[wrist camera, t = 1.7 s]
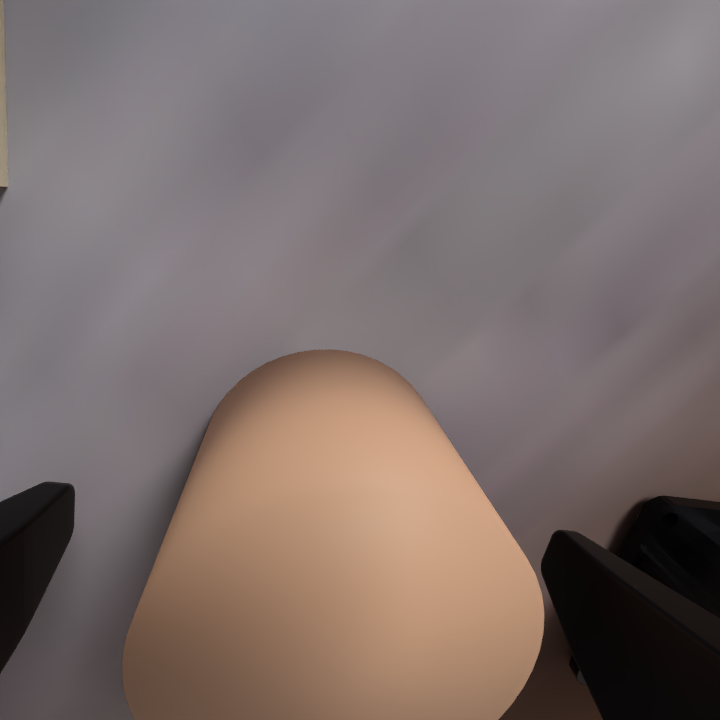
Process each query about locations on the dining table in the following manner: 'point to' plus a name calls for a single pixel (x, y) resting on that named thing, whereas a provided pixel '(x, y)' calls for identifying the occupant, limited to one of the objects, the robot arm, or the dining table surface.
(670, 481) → the dining table surface
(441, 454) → the tan rounded block
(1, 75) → the birch base block
